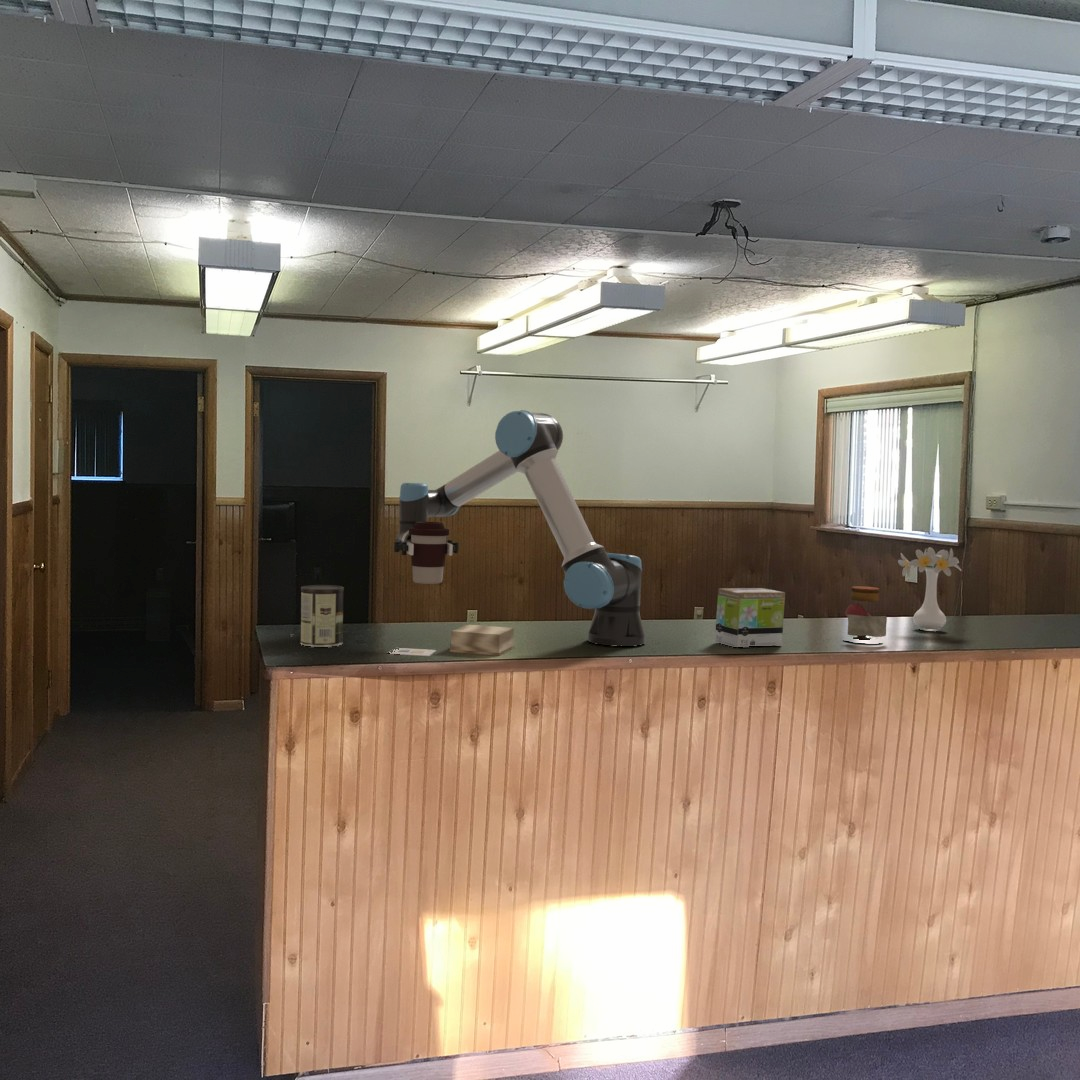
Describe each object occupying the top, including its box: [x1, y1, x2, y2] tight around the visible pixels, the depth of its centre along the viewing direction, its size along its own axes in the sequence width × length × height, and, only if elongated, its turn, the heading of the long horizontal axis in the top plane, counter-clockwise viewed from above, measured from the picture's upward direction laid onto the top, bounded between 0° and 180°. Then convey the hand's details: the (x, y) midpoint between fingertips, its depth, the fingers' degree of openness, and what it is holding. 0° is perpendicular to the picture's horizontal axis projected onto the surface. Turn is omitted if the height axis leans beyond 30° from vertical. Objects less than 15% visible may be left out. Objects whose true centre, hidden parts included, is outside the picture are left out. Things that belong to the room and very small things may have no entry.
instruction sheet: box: [388, 647, 437, 657], centre depth 256 cm, size 10×8×1 cm
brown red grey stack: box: [844, 585, 888, 640], centre depth 296 cm, size 12×13×15 cm
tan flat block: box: [449, 624, 515, 657], centre depth 262 cm, size 12×12×5 cm
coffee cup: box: [409, 521, 450, 585], centre depth 267 cm, size 10×10×15 cm
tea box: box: [714, 587, 786, 648], centre depth 284 cm, size 15×10×15 cm
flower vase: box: [897, 546, 962, 629], centre depth 322 cm, size 13×18×25 cm
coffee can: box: [300, 584, 345, 648], centre depth 262 cm, size 10×10×14 cm
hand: (431, 549), depth 263 cm, fingers closed on coffee cup, 9 cm apart
